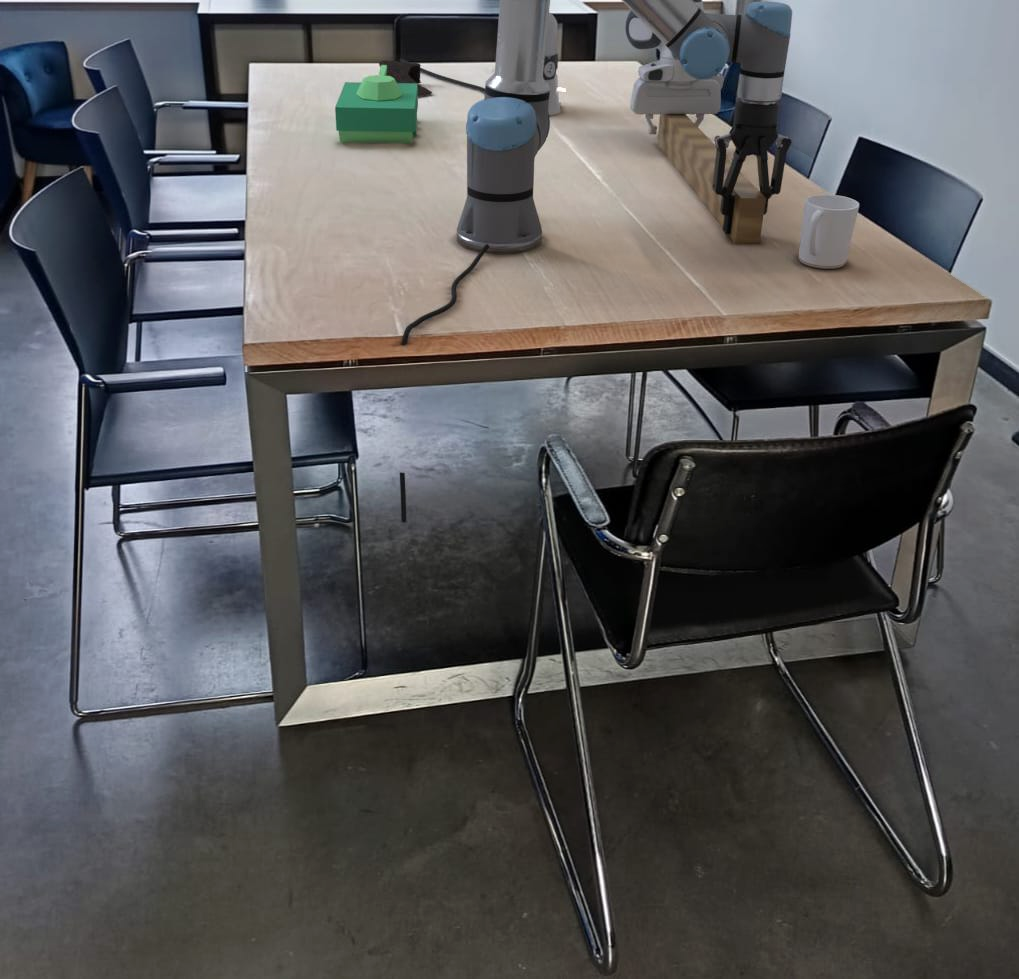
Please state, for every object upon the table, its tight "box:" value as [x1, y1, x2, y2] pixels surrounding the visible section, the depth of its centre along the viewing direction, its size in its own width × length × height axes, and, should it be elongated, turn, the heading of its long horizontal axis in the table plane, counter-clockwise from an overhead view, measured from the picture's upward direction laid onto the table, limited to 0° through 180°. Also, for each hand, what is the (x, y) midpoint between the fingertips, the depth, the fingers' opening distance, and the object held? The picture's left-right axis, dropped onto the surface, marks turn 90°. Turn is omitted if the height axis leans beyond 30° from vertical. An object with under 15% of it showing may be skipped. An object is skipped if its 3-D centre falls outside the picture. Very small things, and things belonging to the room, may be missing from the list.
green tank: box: [334, 65, 419, 144], centre depth 261 cm, size 18×12×35 cm
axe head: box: [378, 59, 433, 98], centre depth 299 cm, size 18×8×15 cm
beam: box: [656, 114, 766, 244], centre depth 225 cm, size 70×4×8 cm, turn 5°
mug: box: [798, 193, 860, 270], centre depth 186 cm, size 11×9×10 cm
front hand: (740, 231), depth 201 cm, fingers closed on beam, 5 cm apart
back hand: (672, 133), depth 250 cm, fingers open, 8 cm apart
